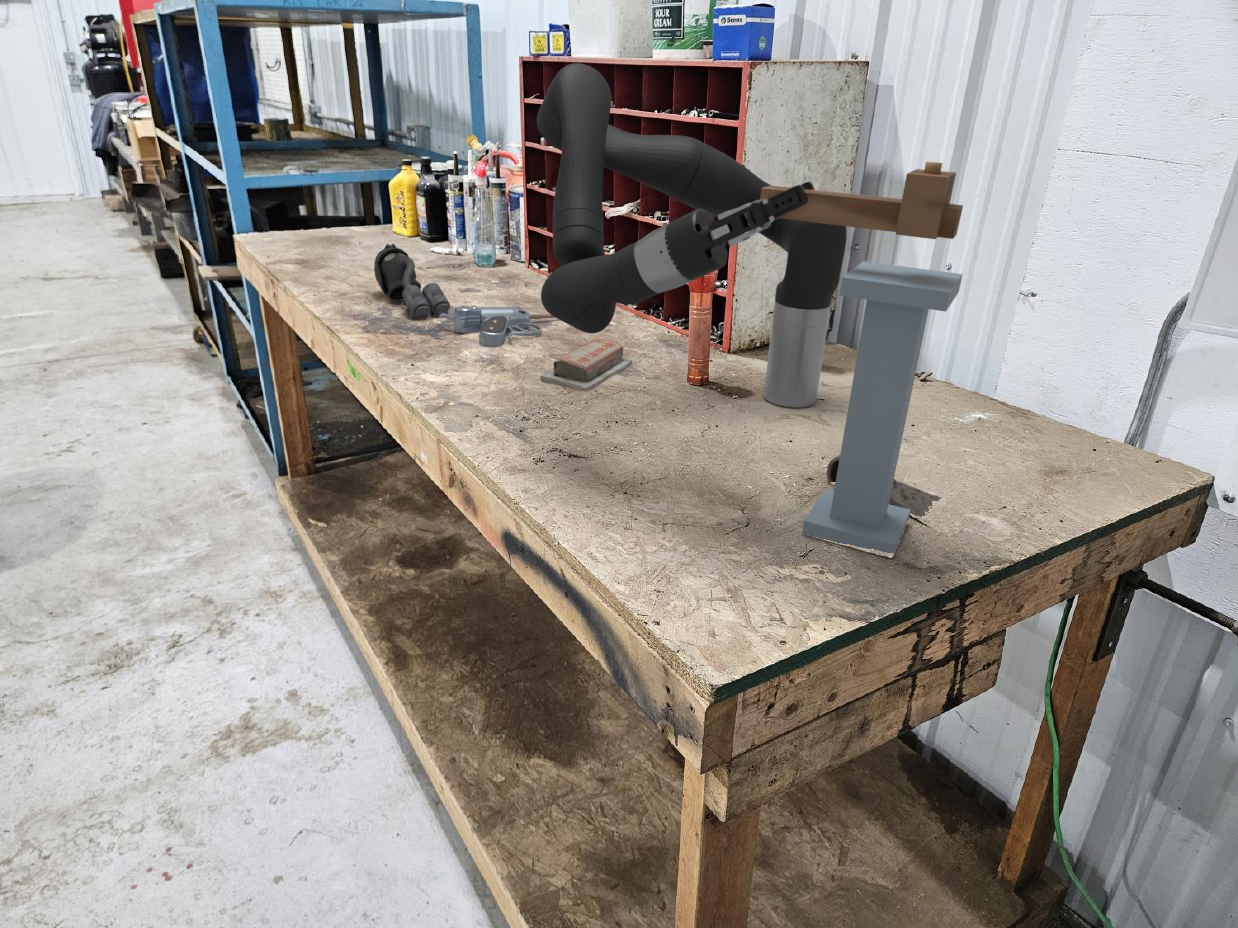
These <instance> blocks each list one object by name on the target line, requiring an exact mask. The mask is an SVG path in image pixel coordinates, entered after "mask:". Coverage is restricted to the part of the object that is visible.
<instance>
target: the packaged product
mask: <svg viewBox="0 0 1238 928" xmlns="http://www.w3.org/2000/svg"><path fill="white" fill-rule="evenodd" d="M623 356H624V345H623V344H621V343H619V342H618V341H614V340H609V339H604V338H595V339H592V340H591V341H589V342H586V343H585V344H583V345H581V346H579V347H577V348H575V349H573V350H571V351H570V352H568V353H565V354H564V355H561V356H560V357H557V358H556V359H555V360H554V362H553V364H552V365H553V368H551V369H549V370H547V371H545V372H544V373H541V374H539V375H540V377H539V378H540V381H541V382H542V383H547V384H551V385H556V386H559V387H560V386H561V387H565V388H569V389H570V388H571V389H575V390H578V391H582V392H589V391H591V390H592V389H593V388H594V387H596V386H597V385H600V384H601V383H603V382H604V381H607V380H608V379H610V378H612V377H613V376H615V375H617V374H618V373H620V372H621V371H623V370H624V369H626V368H627V367H629V366H631V365H633V360H632V359H626V358H623Z"/></svg>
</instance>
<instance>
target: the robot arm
mask: <svg viewBox="0 0 1238 928" xmlns="http://www.w3.org/2000/svg"><path fill="white" fill-rule="evenodd" d="M611 109H612V92H611V88H610V86H609V84H608V82H607V80H606V78H605V77H604V76H603V75H602V73H600V72H599V71H598V70H597V69H595V68H594V67H592V66H590V65H587V64H583V63H580V62H579V63H577V62H576V63H574V62H573V63H570V64H567V65H566V66H564V67H562V68H561V69H560V70H559V71H558V72H557V73H556V75H555V76H554V77H553V79H552V80H551V83H550V85H549V87H548V90H547V92H546V94H545V96H544V98H543V100H542V103H541V105H540V107H539V110H538V111H537V116H536V125H537V129H538V131H539V133H540V135H541V136H542V138H543V139H544V140H545V141H546V142H547V143H548V144H550V145H551V146H553V147H554V148H555V149H557V150H559V151H561V156H560V164H559V170H558V174H557V182H556V184H555V185H556V186H555V191H554V197H553V205H552V206H553V207H552V249H553V250H552V252H553V255H554V257H555V259H556V261H557V262H558V263H559V264H560V266H559V267H557V268H556V269H555V270H554V271H552V272H551V273H550V274H549V275H548V276H547V277H546V279H545V281H544V283H543V285H542V288H541V290H540V299H541V304H542V306H543V308H544V309H545V311H546V313H548V315H552V316H554V317H555V318H554V319H558V320H559V321H561V322H564V323H565V324H568V325H569V326H571V327H572V328H574V329H577V330H579V331H580V332H583V333H586V334H597V333H600V332H602V331H604V330H605V329H606V328H608V326H609V325H610V323H612V320H613V318H614V315H615V312H616V307H617V304H619V305H623V306H630V305H635V304H639V303H641V302H643V301H646V300H648V299H651V298H652V297H654V296H656V295H659V294H661V293H663V292H664V293H665V292H667V291H671V290H674V289H677V288H679V287H682V286H684V285H686V284H689V283H691V282H693V281H695V280H698V279H700V278H703V277H705V276H707V275H708V274H711V273H714V272H715V271H717V270H720V269H722V268H724V267H725V265H726V264H727V260H728V249H729V248H732V247H734V246H737V245H739V244H741V243H744V242H746V241H747V240H749V239H750V238H751V236H753V235H755V234H760V235H761V236H764V238H767V239H768V240H770V241H772V242H773V243H774V244H776V245H777V246H779V247H780V248H781V249H783V250H784V251H785V252H787V259H786V264H785V265H786V266H785V273H784V277H783V279H782V280H781V281H780V282H779V283H778V284H777V285H776V288H775V294H774V295H775V296H774V304H773V305H774V306H773V312H772V321H771V322H772V323H771V330H770V336H769V347H768V355H767V365H766V370H765V376H764V378H765V379H764V385H763V387H764V388H763V398H764V400H766V401H768V403H769V402H770V403H771V404H774V405H777V406H780V407H786V408H805V407H810V406H813V405H814V404H816V402H817V396H818V392H819V391H818V390H819V384H820V379H821V371H822V365H823V358H824V352H825V347H826V346H825V344H826V340H827V339H826V338H827V333H828V327H829V326H828V324H829V317H830V313H831V305H832V301H833V300H832V299H833V296H834V295H835V292H836V290H837V288H838V286H839V282H840V277H841V274H842V273H841V272H842V268H843V262H844V258H845V257H844V256H845V252H846V246H847V245H846V244H847V238H848V237H847V236H848V235H847V234H848V233H847V226H840V225H831V224H823V223H815V222H806V221H798V220H790V219H781V218H776V216H777V217H779V216H781V215H783V214H785V213H787V212H790V211H792V210H794V209H796V208H798V207H800V206H803V205H805V204H806V203H807V202H808V198H807V196H806V193H805V190H804V189H809V190H816V189H815V187H814V184H813V182H811V181H806V182H804V183H801V184H798V185H797V184H796V185H793V187H790V189H788V190H786V191H784V192H782V193H780V194H778V195H776V196H774V197H772V198H770V200H771V202H770V200H769V198H767V199H765V198H764V199H762V200H761V202H760V197H761V188H763V187H767V186H773V185H771V184H770V183H768V182H766V181H764V180H763V179H762V178H760V177H759V176H757V175H756V174H755V173H754V172H752V171H751V170H750V169H748V168H747V167H745V166H744V165H743V164H742V163H740V162H738V161H737V160H735V159H734V158H732V157H731V156H729V155H727V154H726V153H724V152H722V151H720V150H719V149H717V148H715V147H713V146H712V145H711V146H710V145H708V144H707V143H705V142H702V141H701V140H699V139H697V138H694V137H690V136H686V135H675V134H674V135H672V134H637V133H632V132H629V131H625V130H622V129H620V128H618V127H616V126H613V125H611V124H610V123H609V120H610V115H611ZM604 168H606V169H607V170H611V171H614V172H616V173H618V174H620V175H624V176H626V177H627V178H631V179H632V180H634V181H636V182H638V183H640V184H643V185H645V186H647V187H649V188H652V189H654V190H657V191H659V192H660V193H663V194H664V195H666V196H668V197H670V198H672V199H674V200H675V201H678V202H680V203H681V204H684V205H686V206H688V207H690V208H692V209H694V210H692V211H690V212H689V213H686V214H684V215H682V216H680V217H679V218H676V219H674V220H672V221H670V222H668V223H667V224H664V225H663V226H660V227H659V228H656V229H654V230H653V231H651V232H649V233H647V234H646V235H645V236H644V237H642V238H641V239H639V240H637V241H635V242H633V243H631V244H629V245H628V246H626V247H623V248H621V249H620V250H618V251H616V252H614V253H610V254H606V252H605V249H604V243H605V242H604V216H603V215H604V212H603V209H604V208H603V206H604V205H603V186H604V185H603V184H604V183H603V182H604V180H603V179H604ZM775 214H776V216H775ZM715 218H716V219H717V220H716V219H715ZM727 247H728V249H727Z"/></svg>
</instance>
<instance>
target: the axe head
mask: <svg viewBox="0 0 1238 928" xmlns="http://www.w3.org/2000/svg"><path fill="white" fill-rule="evenodd" d="M839 459H840V454H838V455H837V456H835V457H834V458H831V460H830V461H829V463H828V464H827V469H826V472H825V473H826V474H825V475H826V477H827V479H826V480H827V482H828V483H829V482H836V477H837V471H838V465H839ZM941 498H942V497H940V496H938V495H934V494H931V493H929V492H926V491H923V490H922V489H919V488H916V487H913V486H912V485H908V484H906V483H904V482H902V481H898V480H896V479H895V478H894V480H893V485H892V490H891V495H890V500H889V504H890V505H891V504H892V505H894V506H898V507H902V508H906V509H910V510H911V511H910V513H912V514H914V515H916V516H920V517H921V516H925V511H926V512H928V511H929V508H928V507H929V506H933V505H932V501H939V499H941ZM930 508H931V509H932V507H930ZM928 513H929V512H928ZM926 515H927V514H926Z"/></svg>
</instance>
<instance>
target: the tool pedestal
mask: <svg viewBox="0 0 1238 928" xmlns="http://www.w3.org/2000/svg"><path fill="white" fill-rule="evenodd" d="M962 278H963V273H956V272H949V271H940V270H934V269H925V268H917V267H910V266H903V265H894V264H886V263H879V262H871V261H861V262H860V263H859V264H858V265H857V266H855V267H854V268H852V269H851V270H850V271H848V272H847V273H846V274H845V275H843V276H842V277H841V281H840V288H839V294H838V295H839V297H846V298H853V299H857V300H859V299H860V300H864V301H865V300H866V302H865V307H864V314H863V320H862V326H861V331H860V336H859V337H860V338H859V342H858V350H857V355H856V360H855V366H854V372H853V378H852V379H853V380H852V385H851V390H850V391H851V392H850V394H849V395H850V397H849V401H848V408H847V413H846V418H845V419H846V420H845V427H844V432H843V437H842V443H841V449H840V454H839V455H840V459H839V465H838V471H837V477H836V483H835V485H834V490H833V489H829V488H825V489H824V490H823V492H822V493H821V495H820V496H819V498H818V499H817V501H816V502H815V504H814V505H813V507H812V508H811V509H810V511H809V513H808V514H807V516H806V517H805V518H804V521H803V526H802V534H805V535H809V536H813V537H818V538H821V539H826V540H830V541H833V542H837V543H842V544H850V545H854V546H857V547H862V548H866V549H874V550H879V551H882V552H887V553H893V554H894V552H895V550H896V547H897V545H898V543H899V540H900V538H901V536H902V533H903V531H904V529H905V526H906V524H907V521H908V522H909V520H910V516H909V515H910V511H911V510H910V509H906V508H902V507H898V506H894V505H891V504H889V500H890V495H891V490H892V485H893V480H894V479H895V476H896V475H895V474H896V471H897V466H898V465H897V464H898V461H899V456H900V452H901V450H900V449H901V446H902V440H903V436H904V433H905V432H904V431H905V426H906V422H907V417H908V416H907V415H908V412H909V407H910V402H911V398H912V393H913V387H914V383H915V377H916V374H917V373H916V372H917V367H918V363H919V360H920V359H919V358H920V354H921V353H920V352H921V349H922V344H923V338H924V334H925V328H926V325H927V321H928V320H927V319H928V315H929V310H934V311H940V312H947V311H948V309H949V308H950V306H951V304H952V303H953V301H954V300H955V299H956V297H957V296H958V294H959V292H960V288H961V283H962ZM908 519H909V520H908ZM907 525H908V524H907ZM906 527H907V526H906ZM905 530H906V529H905ZM904 532H905V531H904ZM802 534H801V535H802ZM903 534H904V533H903ZM805 535H804V536H805ZM809 536H808V537H809ZM902 537H903V536H902ZM901 539H902V538H901ZM900 541H901V540H900ZM899 544H900V543H899ZM898 546H899V545H898ZM896 551H897V550H896ZM895 553H896V552H895Z"/></svg>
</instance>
